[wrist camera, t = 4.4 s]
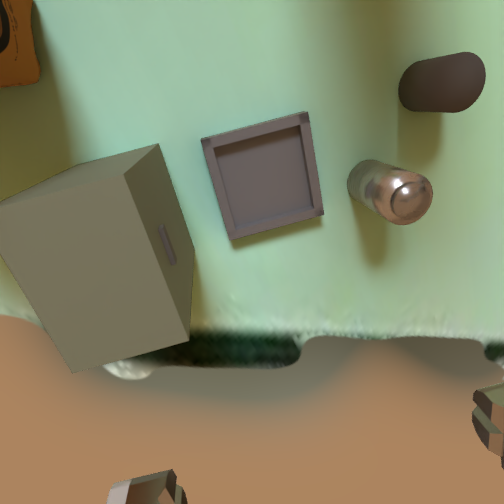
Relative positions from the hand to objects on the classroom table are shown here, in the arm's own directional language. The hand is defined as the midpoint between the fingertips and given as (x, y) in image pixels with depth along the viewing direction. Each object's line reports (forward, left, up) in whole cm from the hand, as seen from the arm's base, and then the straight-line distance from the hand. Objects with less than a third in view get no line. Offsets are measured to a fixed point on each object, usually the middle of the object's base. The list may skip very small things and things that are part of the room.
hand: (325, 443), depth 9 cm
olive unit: (+9, -2, -25) cm, 26 cm away
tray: (-3, -2, -25) cm, 25 cm away
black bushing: (-18, -6, -25) cm, 31 cm away
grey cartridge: (-12, +1, -25) cm, 28 cm away
